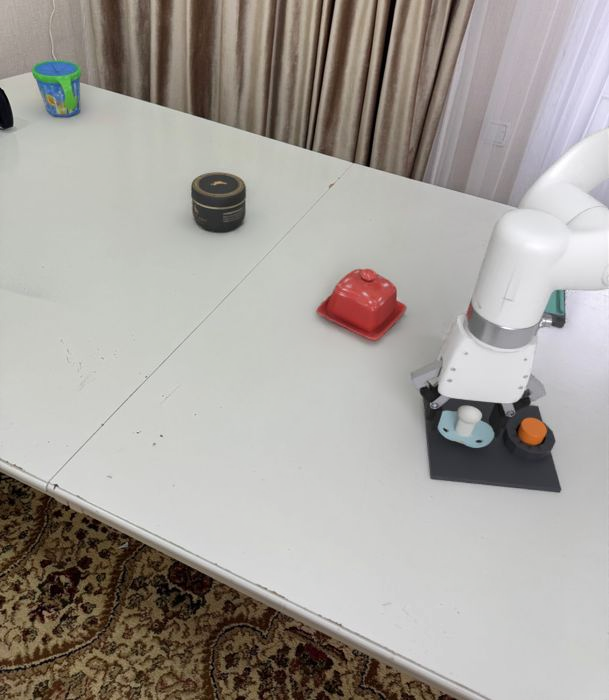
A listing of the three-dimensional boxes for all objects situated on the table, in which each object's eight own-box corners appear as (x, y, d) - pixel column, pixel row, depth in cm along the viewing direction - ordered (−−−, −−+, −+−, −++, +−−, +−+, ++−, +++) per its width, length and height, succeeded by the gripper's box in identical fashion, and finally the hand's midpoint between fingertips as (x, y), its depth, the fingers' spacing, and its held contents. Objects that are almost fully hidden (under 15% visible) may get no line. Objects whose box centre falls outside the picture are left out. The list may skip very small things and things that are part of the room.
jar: (182, 217, 118) (179, 180, 112) (225, 202, 123) (224, 166, 118) (213, 240, 112) (211, 203, 107) (256, 224, 118) (257, 187, 112)
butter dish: (409, 311, 101) (419, 268, 95) (374, 348, 94) (383, 304, 88) (349, 284, 105) (355, 241, 100) (311, 318, 98) (316, 274, 92)
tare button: (539, 427, 81) (544, 418, 80) (544, 446, 79) (549, 437, 78) (515, 425, 81) (519, 416, 80) (519, 444, 79) (524, 435, 78)
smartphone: (520, 312, 101) (524, 263, 112) (518, 318, 102) (521, 269, 113) (567, 323, 100) (565, 272, 111) (564, 329, 101) (563, 278, 111)
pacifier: (439, 408, 84) (429, 439, 80) (450, 375, 80) (440, 405, 76) (494, 426, 82) (486, 458, 78) (507, 392, 78) (500, 424, 74)
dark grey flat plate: (537, 409, 87) (543, 397, 85) (560, 493, 76) (567, 481, 75) (422, 397, 87) (426, 384, 85) (430, 479, 77) (434, 467, 75)
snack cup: (94, 122, 146) (87, 77, 139) (47, 127, 142) (37, 81, 135) (79, 97, 156) (72, 55, 149) (35, 102, 152) (26, 58, 145)
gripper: (572, 306, 71) (524, 411, 83) (420, 291, 71) (394, 397, 83) (589, 350, 65) (535, 455, 77) (424, 334, 65) (396, 441, 77)
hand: (462, 425), depth 80 cm, fingers closed on pacifier, 7 cm apart
